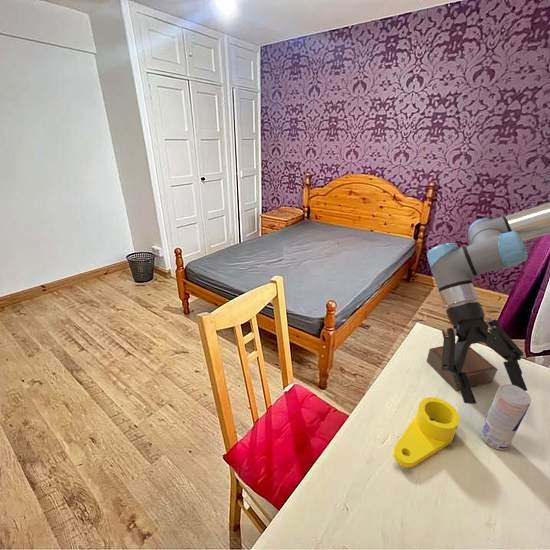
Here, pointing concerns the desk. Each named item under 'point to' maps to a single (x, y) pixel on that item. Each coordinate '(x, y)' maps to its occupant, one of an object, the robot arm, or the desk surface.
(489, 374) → the block
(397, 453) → the crank
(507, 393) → the beverage can
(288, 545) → the desk surface
